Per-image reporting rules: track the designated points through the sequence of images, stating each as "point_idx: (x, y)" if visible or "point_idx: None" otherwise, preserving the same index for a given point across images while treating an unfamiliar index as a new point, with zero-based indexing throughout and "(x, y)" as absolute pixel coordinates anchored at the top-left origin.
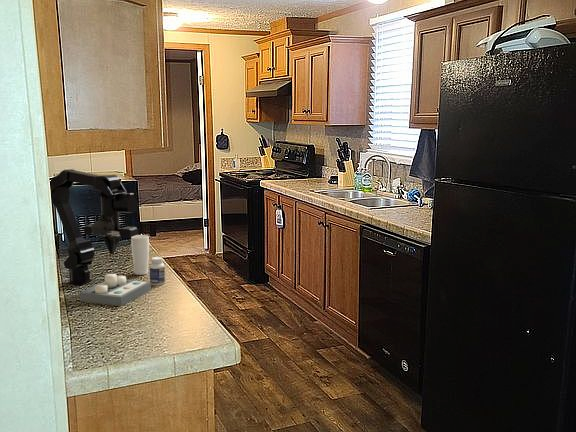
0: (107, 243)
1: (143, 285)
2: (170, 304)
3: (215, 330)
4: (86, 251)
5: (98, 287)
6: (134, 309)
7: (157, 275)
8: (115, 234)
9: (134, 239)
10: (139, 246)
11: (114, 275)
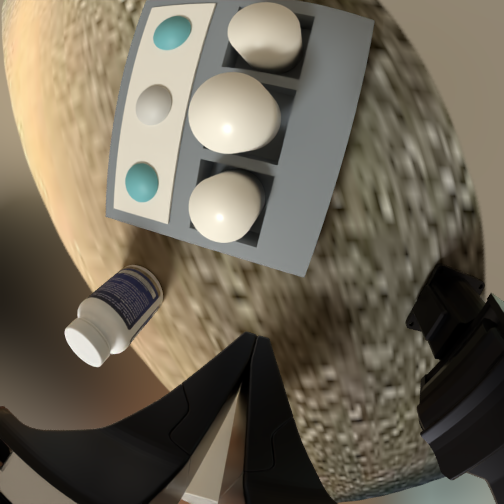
0: (265, 441)
1: (110, 164)
2: (50, 87)
3: (7, 19)
4: (473, 394)
5: (266, 6)
6: (120, 9)
7: (106, 282)
8: (29, 496)
9: (218, 496)
10: (203, 464)
11: (201, 113)
